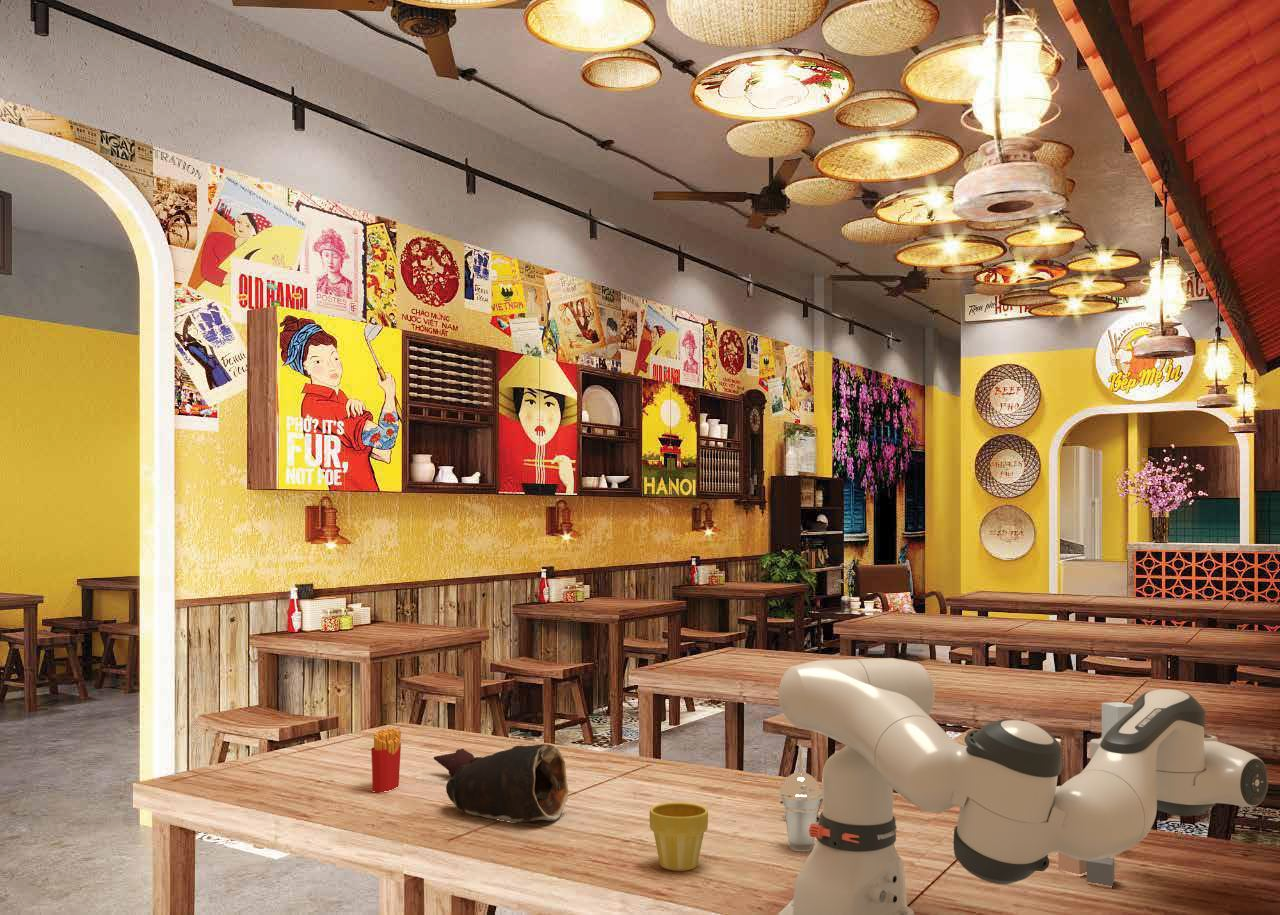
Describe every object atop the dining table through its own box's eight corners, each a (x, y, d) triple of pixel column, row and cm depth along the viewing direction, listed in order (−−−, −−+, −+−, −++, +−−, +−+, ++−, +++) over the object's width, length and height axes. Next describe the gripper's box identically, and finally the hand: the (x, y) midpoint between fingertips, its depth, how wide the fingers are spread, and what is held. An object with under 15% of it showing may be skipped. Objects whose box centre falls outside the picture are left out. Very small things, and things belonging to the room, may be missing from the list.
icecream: (423, 751, 250) (475, 763, 243) (442, 737, 256) (494, 749, 249) (425, 778, 251) (477, 791, 244) (444, 763, 258) (495, 776, 251)
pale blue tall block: (1137, 798, 185) (1136, 706, 186) (1118, 800, 184) (1117, 707, 185) (1121, 792, 189) (1120, 702, 190) (1102, 794, 188) (1101, 703, 189)
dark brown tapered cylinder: (458, 744, 232) (560, 731, 223) (473, 813, 232) (576, 803, 223) (421, 768, 218) (528, 756, 209) (438, 841, 218) (545, 832, 209)
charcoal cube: (1112, 889, 178) (1112, 864, 178) (1086, 885, 180) (1086, 861, 180) (1114, 881, 181) (1114, 858, 182) (1089, 878, 183) (1088, 854, 184)
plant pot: (673, 851, 196) (673, 798, 197) (719, 863, 190) (719, 808, 190) (637, 866, 188) (637, 810, 189) (684, 879, 182) (684, 821, 182)
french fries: (382, 794, 235) (383, 735, 236) (366, 792, 236) (367, 733, 237) (405, 784, 244) (406, 727, 244) (389, 783, 245) (390, 725, 246)
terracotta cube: (1079, 878, 183) (1079, 854, 184) (1058, 871, 187) (1058, 848, 187) (1092, 873, 186) (1092, 850, 186) (1071, 867, 189) (1071, 844, 189)
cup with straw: (833, 847, 199) (832, 739, 200) (806, 858, 192) (806, 747, 193) (794, 838, 205) (794, 732, 206) (767, 848, 198) (767, 740, 199)
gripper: (1123, 781, 172) (1066, 761, 185) (1225, 774, 177) (1162, 755, 191) (1123, 742, 172) (1066, 725, 185) (1224, 736, 178) (1162, 719, 191)
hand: (1115, 740), depth 188 cm, fingers closed on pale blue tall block, 4 cm apart
